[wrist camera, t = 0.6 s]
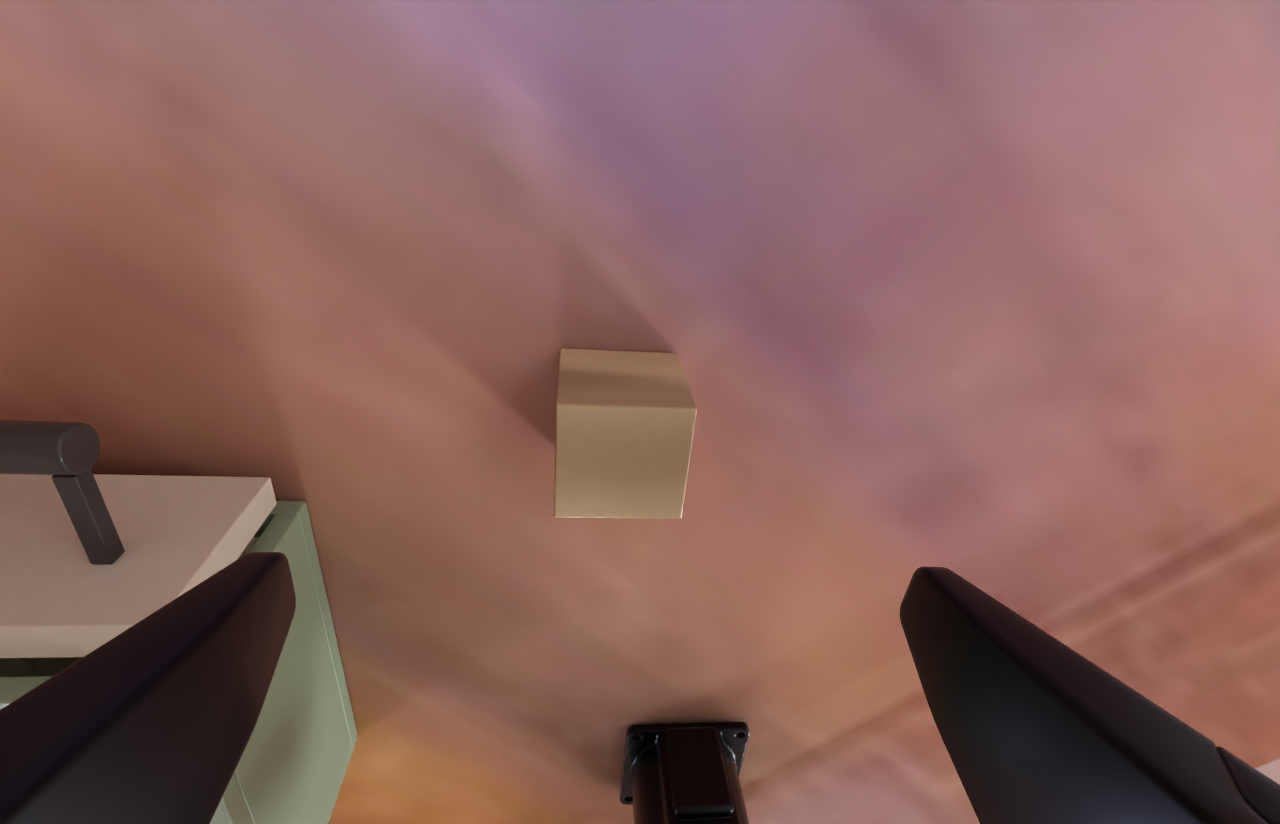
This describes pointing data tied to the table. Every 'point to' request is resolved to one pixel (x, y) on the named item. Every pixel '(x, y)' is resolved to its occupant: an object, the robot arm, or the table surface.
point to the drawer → (102, 542)
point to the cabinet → (286, 700)
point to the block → (622, 434)
